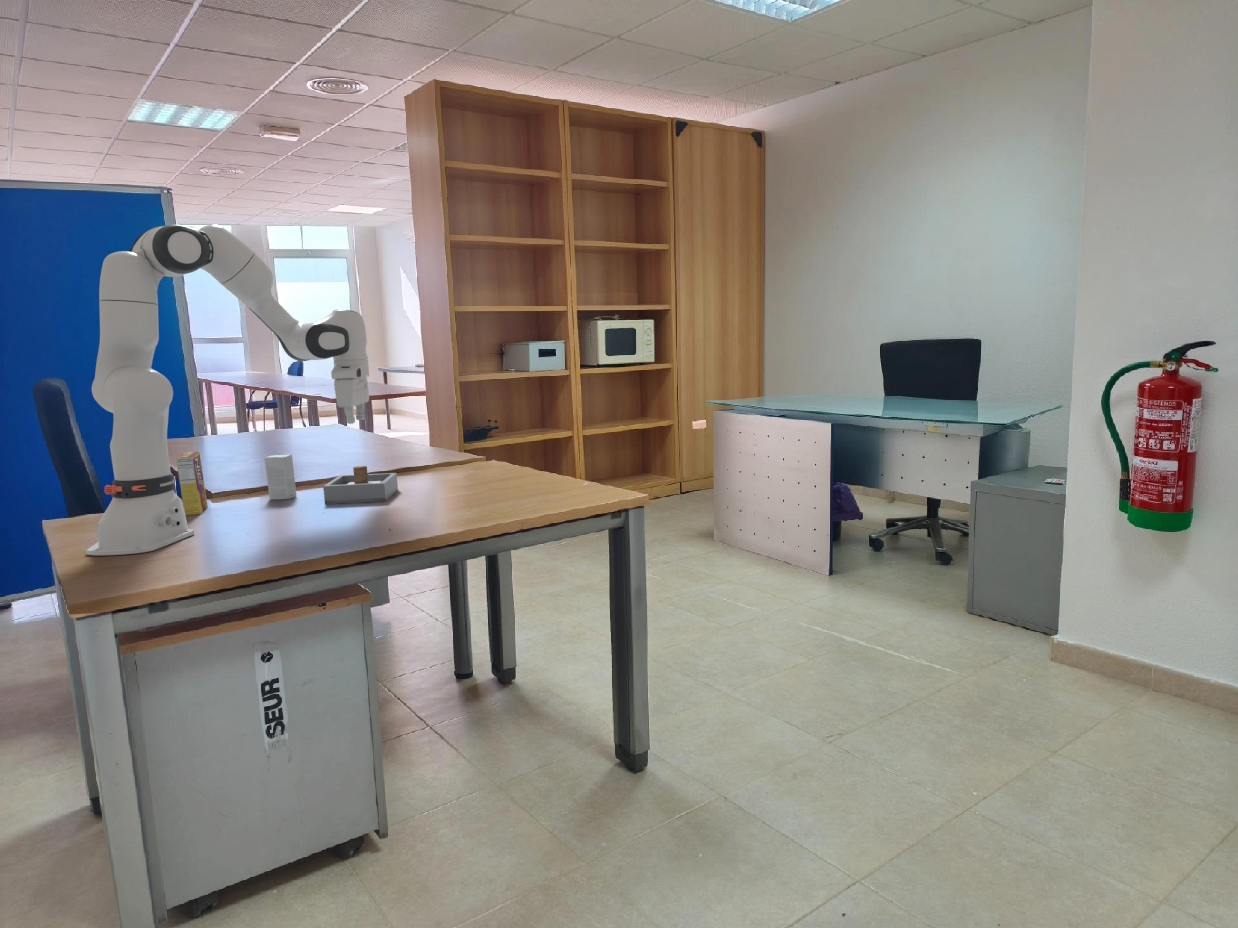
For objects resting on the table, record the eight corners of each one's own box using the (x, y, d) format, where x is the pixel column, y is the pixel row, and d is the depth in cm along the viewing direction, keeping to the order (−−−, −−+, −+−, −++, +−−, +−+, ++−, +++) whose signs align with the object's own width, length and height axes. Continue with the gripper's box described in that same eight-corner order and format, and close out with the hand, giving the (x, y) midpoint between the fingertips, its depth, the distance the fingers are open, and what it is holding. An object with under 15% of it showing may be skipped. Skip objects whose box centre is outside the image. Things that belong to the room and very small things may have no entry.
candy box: (190, 508, 212) (183, 452, 210) (208, 507, 213) (201, 451, 211) (182, 515, 204) (175, 457, 201) (201, 514, 205) (194, 456, 202)
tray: (385, 501, 213) (384, 483, 212) (324, 504, 212) (323, 486, 211) (397, 489, 228) (396, 472, 228) (341, 492, 227) (339, 475, 227)
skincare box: (297, 496, 224) (292, 454, 222) (289, 499, 220) (285, 457, 218) (276, 496, 225) (272, 454, 223) (268, 499, 221) (264, 457, 219)
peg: (367, 494, 218) (365, 467, 217) (354, 495, 218) (351, 468, 217) (370, 491, 222) (368, 465, 220) (357, 492, 222) (355, 466, 220)
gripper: (350, 369, 224) (353, 418, 226) (329, 372, 204) (333, 426, 206) (372, 368, 225) (376, 417, 227) (354, 371, 205) (358, 425, 207)
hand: (355, 421), depth 216 cm, fingers open, 8 cm apart
